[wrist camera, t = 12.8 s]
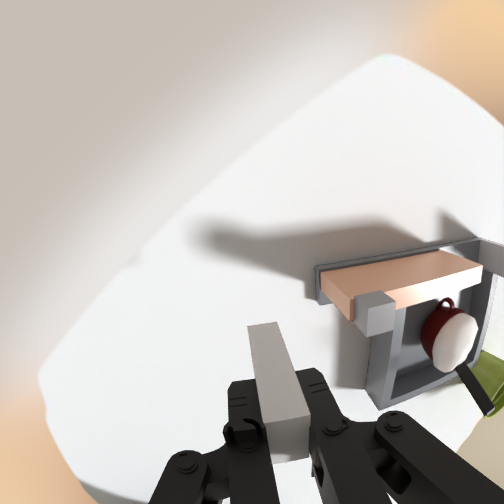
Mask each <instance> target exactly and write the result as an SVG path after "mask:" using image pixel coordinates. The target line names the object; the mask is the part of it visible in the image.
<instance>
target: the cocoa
mask: <svg viewBox="0 0 504 504" xmlns="http://www.w3.org/2000/svg"><path fill="white" fill-rule="evenodd" d="M444 302H447V303H448V304H449V306H450V307H445V306H443V307H441V305H442V304H443V303H444ZM477 331H478V326H477V323H476V320H475V318H473V317H471V316H469V315H468V314H467V313H466V312H465V311H463V310H461V309H459V308H455V304H454V302H453V300H452V299H451V298H449V297H446V298H443V299H442V300H441V301H440V302H439V303H438V304H437V306H436V308H435V311H433V312H432V313H431V314H430V315H429V316H428V318H427V319H426V321H425V323H424V325H423V326H422V331H421V343H422V347H423V349H424V351H425V352H426V354H427V356H428V357H429V358H430V359H431V360H432V361H433V364H434V366H435V367H436V368H437V369H439V370H440V371H442V372H445V373H446V372H450V371H452V370H453V369H455V371H456V372H457V374H458V375H459V377H460V378H461V380H462V381H463V383H464V384H465V386H466V387H467V389H468V390H469V392H470V393H471V395H472V397H473V398H474V400H475V401H476V403H477V405H478V406H479V408H480V409H481V411H482V413H483V414H484V416H488V415H489V414H490V413H491V412H493V411H494V410H495V406H494V404H493V403H492V401H491V399H490V398H489V396H488V395H487V393H486V392H485V390H484V389H483V387H482V385H481V384H480V382H479V381H478V380H477V378H476V377H475V375H474V374H473V372H472V371H471V369H470V368H469V367H468V365H467V364H466V362H465V359H466V357H467V355H468V353H469V352H470V350H471V348H472V346H473V343H474V340H475V337H476V334H477Z"/></svg>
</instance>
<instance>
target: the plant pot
mask: <svg viewBox="0 0 504 504" xmlns="http://www.w3.org/2000/svg"><path fill="white" fill-rule="evenodd" d="M471 371H472V372H473V374H474V375H475V377H476V378H477V380H478V381H479V382H480V384H481V385H482V387H483V389H484V390H485V392H486V393H487V395H488V396H489V398H490V399H491V401H492V403H493V404H494V406H495V410H494V411H493V412H491V413H490V414H489V415H488V416H484V418H485V419H490V418H492V417H493V416H494V415H496V414H497V413H498V412H499V411H500V410H501V409H502V408H503V407H504V361H503V360H501V359H499V358H497V357H496V356H494V355H492V354H490V353H488V352H485V351H483V352H480V355H479V358H478V361H477V364H476V366H474V367H472V368H471Z"/></svg>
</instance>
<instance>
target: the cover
mask: <svg viewBox="0 0 504 504" xmlns="http://www.w3.org/2000/svg"><path fill="white" fill-rule="evenodd" d="M482 268H483V265H481V264H478V263H476V262H473V261H471V260H468V259H465V258H463V257H460V256H457V255H455V254H452V253H449V252H446V251H444V250H440V251H435V252H430V253H425V254H420V255H414V256H409V257H404V258H399V259H394V260H388V261H383V262H377V263H372V264H366V265H360V266H355V267H349V268H343V269H337V270H331V271H325V272H321V291H322V292H323V293H324V294H325V295H326V296H327V297H328V298H329V299H330V300H331V302H332V303H333V304H334V305H335V306H336V307H337V308H338V309H339V310H340V312H341V313H342V314H343V315H344V316H345V317H346V318H347V319H348V320H349V322H350V321H354V322H353V323H354V324H355V326H356V327H357V328H358V329H359V330H360V331H361V332H362V333H363V334H364V335H365V337H366V338H367V337H370V336H374V335H377V334H381V333H384V332H388V331H391V330H393V329H394V320H395V310H397V309H401V308H404V307H408V306H411V305H415V304H418V303H422V302H425V301H428V300H431V299H434V298H438V297H441V296H444V295H447V294H450V293H453V292H456V291H459V290H462V289H464V288H467V287H470V286H473V285H476V284H478V283H481V276H482Z"/></svg>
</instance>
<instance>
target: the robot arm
mask: <svg viewBox="0 0 504 504" xmlns="http://www.w3.org/2000/svg"><path fill="white" fill-rule="evenodd" d="M247 327H248V334H249V341H250V348H251V355H252V361H253V368H254V374H255V379H250V380H242V381H234V382H232V383H231V385H230V387H229V388H228V417H229V421H228V422H227V424H226V425H225V426H224V429H223V435H224V438H225V441H226V443H225V444H224V445H223V446H222V447H220V448H219V449H217V450H215V451H212V452H209V453H206V454H201V453H199V452H196V451H193V450H184V451H181V452H178V453H176V454H174V455H173V456H172V457H171V458H170V459H169V461H168V463H167V465H166V467H165V469H164V471H163V473H162V476H161V478H160V480H159V482H158V484H157V486H156V488H155V491H154V493H153V495H152V497H151V499H150V501H149V503H148V504H222V501H223V499H225V498H228V497H230V504H280V502H279V497H278V491H277V486H276V481H275V476H274V471H273V466H272V464H277V463H283V462H289V461H294V460H299V459H304V458H308V457H309V452H310V455H311V458H312V472H311V475H312V477H314V476H315V479H316V483H317V486H318V489H319V492H320V496H321V499H322V502H323V504H392V502H391V500H390V498H389V496H388V494H389V495H390V496H391V497H392V498H393V499H394V500H395V501H396V502H397V503H398V504H504V490H503V489H502V488H500V487H499V486H498V485H496V484H495V483H494V482H492V481H491V480H489V479H488V478H487V477H486V476H484V475H483V474H482V473H481V472H479V471H478V470H477V469H475V468H474V467H473V466H471V465H470V464H469V463H467V462H466V461H465V460H464V459H462V458H461V457H460V456H459V455H457V454H456V453H455V452H454V451H452V450H451V449H450V448H449V447H447V446H446V445H445V444H444V443H442V442H441V441H440V440H439V439H437V438H436V437H435V436H434V435H432V434H431V433H430V432H429V431H427V430H426V429H425V428H424V427H422V426H421V425H420V424H419V423H418V422H416V421H415V420H414V419H413V418H411V417H410V416H409V415H408V414H406V413H404V412H401V411H388V412H386V413H383V414H382V415H381V416H380V417H379V418H378V420H377V421H374V422H355V421H351V420H349V418H347V417H345V416H343V414H342V413H341V411H340V409H339V407H338V405H337V403H336V401H335V399H334V397H333V395H332V393H331V391H330V390H329V387H328V385H327V383H326V381H325V379H324V376H323V374H322V373H321V372H319V371H318V370H317V369H315V368H309V369H305V370H300V371H295V370H294V368H293V365H292V362H291V359H290V357H289V354H288V351H287V348H286V346H285V343H284V340H283V338H282V335H281V332H280V329H279V327H278V324H277V322H272V323H266V324H259V325H252V326H247ZM387 493H388V494H387Z"/></svg>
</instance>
